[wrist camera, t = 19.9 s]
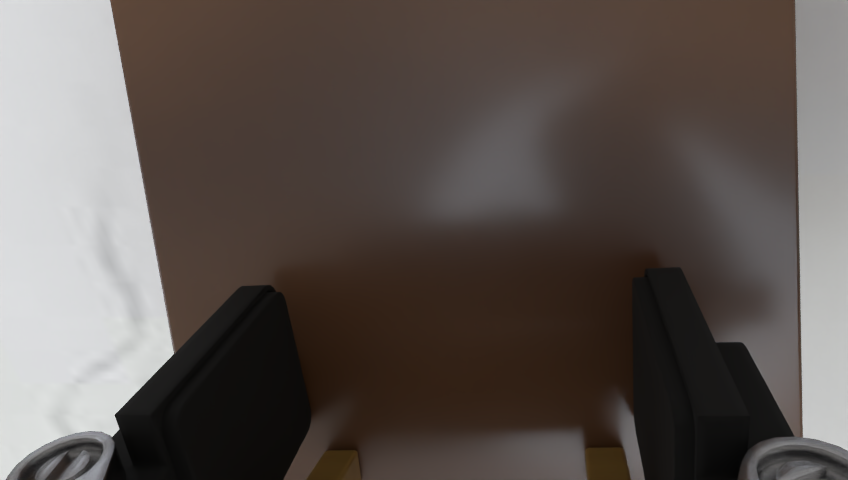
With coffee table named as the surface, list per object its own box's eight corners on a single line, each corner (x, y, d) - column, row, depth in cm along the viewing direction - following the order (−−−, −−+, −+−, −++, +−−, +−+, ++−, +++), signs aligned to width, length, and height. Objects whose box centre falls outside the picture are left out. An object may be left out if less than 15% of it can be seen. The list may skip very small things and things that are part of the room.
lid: (790, 563, 12) (929, 817, 8) (230, 549, 15) (90, 738, 10) (770, -361, 10) (958, -773, 5) (99, -196, 12) (-164, -383, 8)
